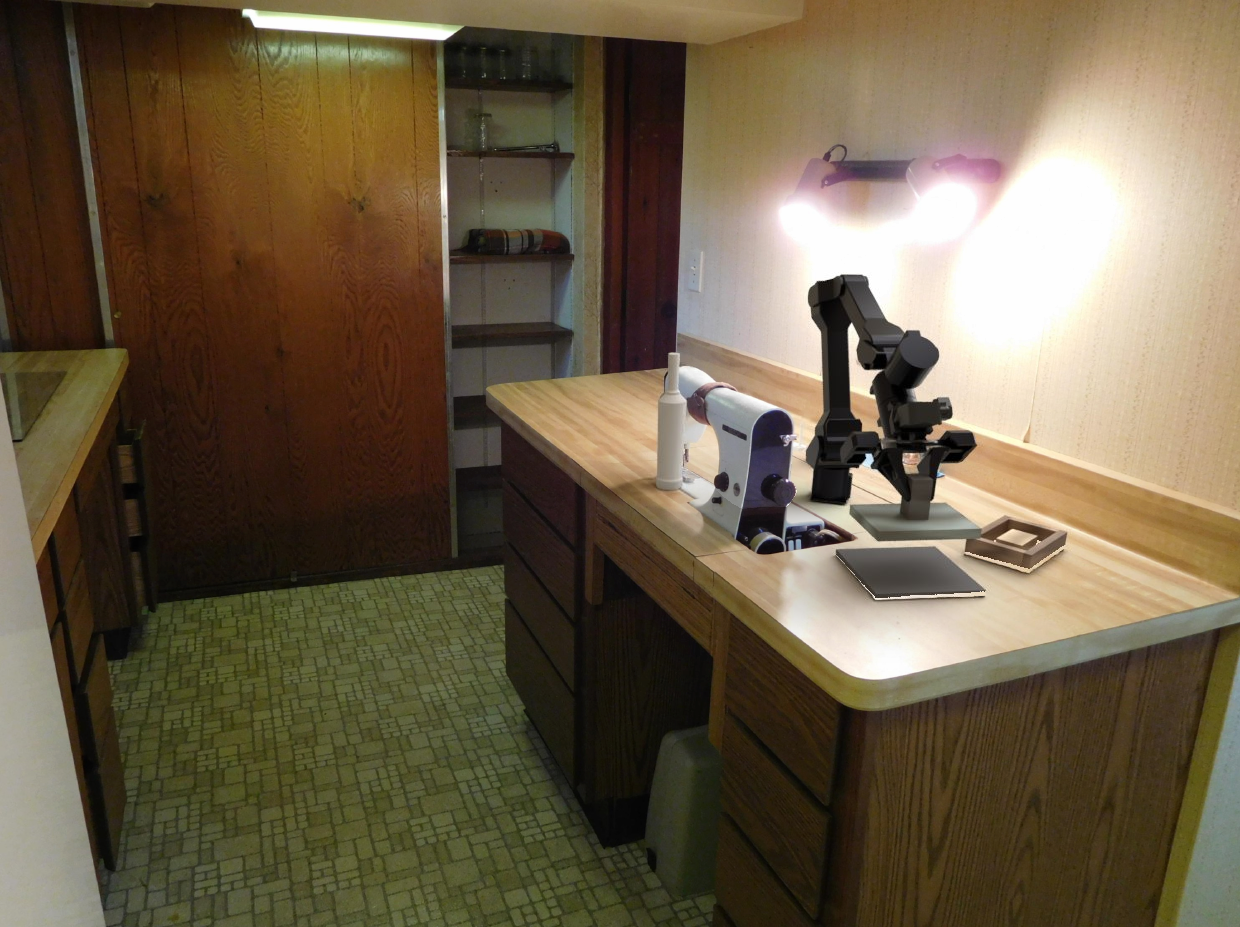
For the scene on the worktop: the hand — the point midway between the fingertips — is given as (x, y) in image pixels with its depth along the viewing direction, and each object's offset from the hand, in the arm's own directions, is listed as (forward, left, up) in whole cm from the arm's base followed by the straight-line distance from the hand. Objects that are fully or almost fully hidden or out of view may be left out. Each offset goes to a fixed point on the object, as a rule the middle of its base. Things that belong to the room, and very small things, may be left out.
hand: (920, 500), depth 131 cm
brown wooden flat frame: (+16, +16, -12) cm, 26 cm away
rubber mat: (-1, +1, -12) cm, 12 cm away
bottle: (-43, +28, -12) cm, 53 cm away
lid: (-1, +1, -4) cm, 5 cm away
